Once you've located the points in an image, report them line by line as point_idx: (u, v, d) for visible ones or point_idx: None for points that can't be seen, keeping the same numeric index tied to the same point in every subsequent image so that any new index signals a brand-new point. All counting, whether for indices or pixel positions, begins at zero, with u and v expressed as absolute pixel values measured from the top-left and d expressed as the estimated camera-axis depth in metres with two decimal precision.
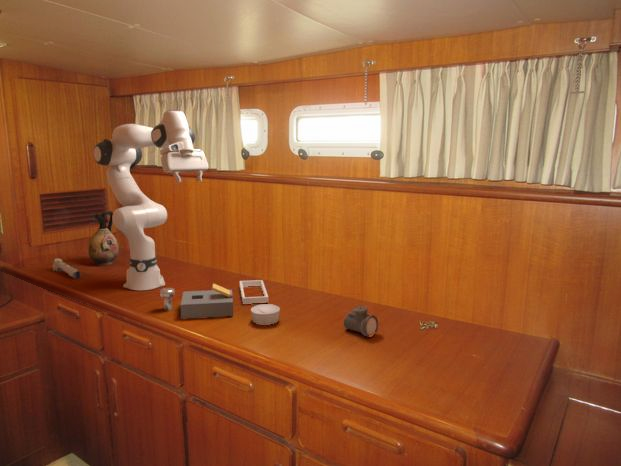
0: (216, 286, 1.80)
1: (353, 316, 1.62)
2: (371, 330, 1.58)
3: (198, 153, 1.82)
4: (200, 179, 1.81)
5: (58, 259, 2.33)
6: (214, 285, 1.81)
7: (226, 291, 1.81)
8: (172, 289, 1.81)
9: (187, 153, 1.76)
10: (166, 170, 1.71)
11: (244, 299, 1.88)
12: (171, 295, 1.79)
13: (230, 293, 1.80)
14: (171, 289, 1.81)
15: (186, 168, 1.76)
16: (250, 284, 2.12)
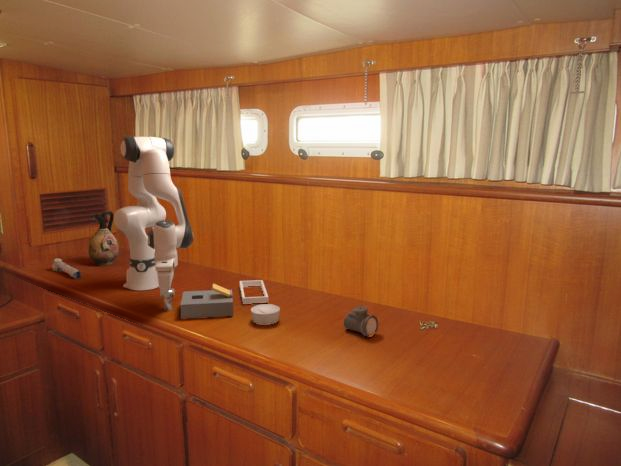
0: (216, 286, 1.80)
1: (353, 316, 1.62)
2: (371, 330, 1.58)
3: None
4: None
5: (58, 259, 2.33)
6: (214, 285, 1.81)
7: (226, 291, 1.81)
8: (172, 289, 1.81)
9: (174, 268, 1.79)
10: (164, 289, 1.70)
11: (244, 299, 1.88)
12: (171, 295, 1.79)
13: (230, 293, 1.80)
14: (171, 289, 1.81)
15: (171, 282, 1.78)
16: (250, 284, 2.12)
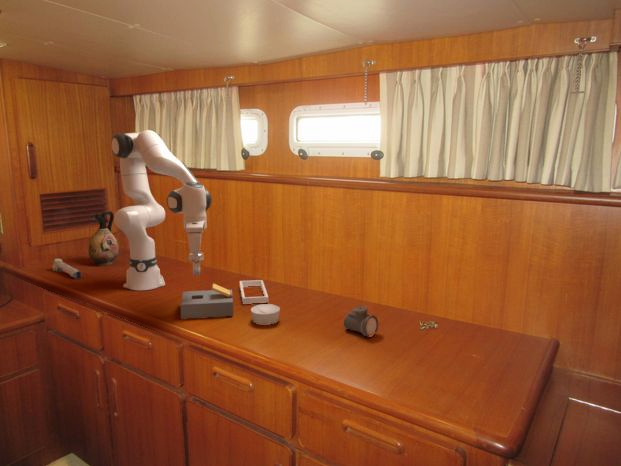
0: (216, 286, 1.80)
1: (353, 316, 1.62)
2: (371, 330, 1.58)
3: None
4: None
5: (58, 259, 2.33)
6: (214, 285, 1.81)
7: (226, 291, 1.81)
8: (201, 253, 1.76)
9: (203, 231, 1.74)
10: (195, 251, 1.66)
11: (244, 299, 1.88)
12: (200, 259, 1.75)
13: (230, 293, 1.80)
14: (200, 253, 1.76)
15: None
16: (250, 284, 2.12)
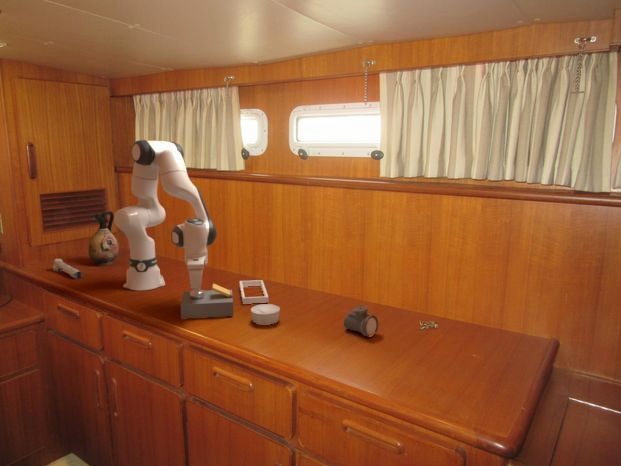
0: (216, 286, 1.80)
1: (353, 316, 1.62)
2: (371, 330, 1.58)
3: None
4: None
5: (58, 259, 2.32)
6: (214, 285, 1.81)
7: (226, 291, 1.81)
8: (202, 291, 1.79)
9: None
10: (196, 287, 1.69)
11: (244, 299, 1.88)
12: (201, 297, 1.78)
13: (230, 293, 1.80)
14: (201, 291, 1.79)
15: None
16: (250, 284, 2.12)
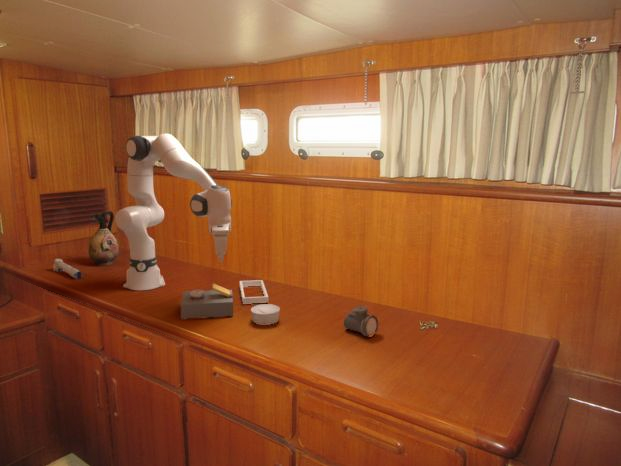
0: (216, 286, 1.80)
1: (353, 316, 1.62)
2: (371, 330, 1.58)
3: None
4: None
5: (59, 259, 2.32)
6: (214, 285, 1.81)
7: (226, 291, 1.81)
8: (202, 291, 1.79)
9: None
10: (221, 253, 1.68)
11: (244, 299, 1.88)
12: (201, 297, 1.78)
13: (230, 293, 1.80)
14: (201, 291, 1.79)
15: None
16: (250, 284, 2.12)
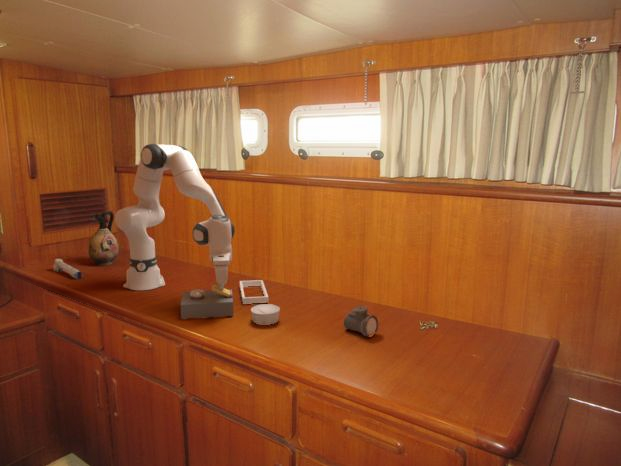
0: (216, 287, 1.80)
1: (353, 316, 1.62)
2: (371, 330, 1.58)
3: None
4: None
5: (59, 259, 2.32)
6: (214, 285, 1.81)
7: (226, 291, 1.81)
8: (202, 291, 1.79)
9: None
10: (222, 283, 1.70)
11: (244, 299, 1.88)
12: (201, 297, 1.78)
13: (230, 293, 1.80)
14: (201, 291, 1.79)
15: None
16: (250, 284, 2.12)
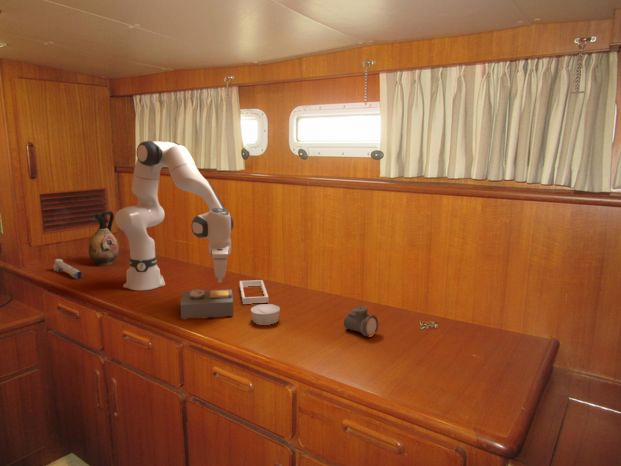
0: (213, 292, 1.81)
1: (353, 316, 1.62)
2: (371, 330, 1.58)
3: None
4: None
5: (59, 260, 2.32)
6: (211, 292, 1.81)
7: (224, 293, 1.81)
8: (202, 291, 1.79)
9: None
10: (220, 277, 1.70)
11: (244, 299, 1.88)
12: (201, 297, 1.78)
13: (229, 293, 1.80)
14: (201, 291, 1.79)
15: None
16: (250, 284, 2.12)
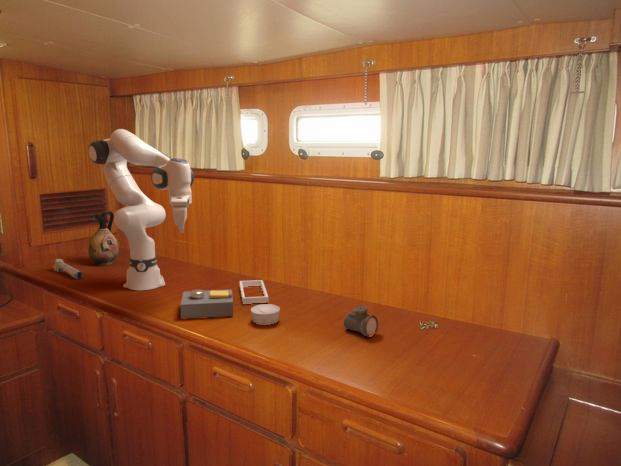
0: (213, 292, 1.81)
1: (353, 316, 1.62)
2: (371, 330, 1.58)
3: None
4: None
5: (59, 260, 2.32)
6: (211, 292, 1.81)
7: (224, 293, 1.81)
8: (202, 291, 1.79)
9: (188, 206, 1.80)
10: (179, 224, 1.72)
11: (244, 299, 1.88)
12: (201, 297, 1.78)
13: (229, 293, 1.80)
14: (201, 291, 1.79)
15: (185, 220, 1.80)
16: (250, 284, 2.12)
